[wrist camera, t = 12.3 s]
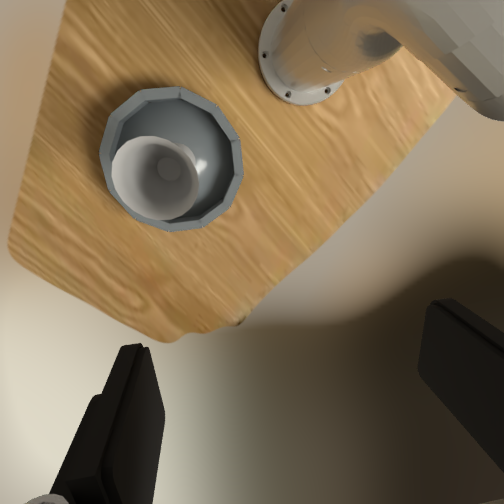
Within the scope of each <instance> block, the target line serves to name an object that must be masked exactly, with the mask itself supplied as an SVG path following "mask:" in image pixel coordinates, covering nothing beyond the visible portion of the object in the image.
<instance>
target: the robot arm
mask: <svg viewBox="0 0 504 504" xmlns="http://www.w3.org/2000/svg"><path fill="white" fill-rule="evenodd" d="M282 8H283V9H284V12H282V11H281V9H282ZM402 46H404V47H405V48H406V49H407V50H408V51H409V52H410V53H412V54H413V55H414V56H415V57H416V58H417V59H418V60H420V61H422V62H423V63H424V64H425V65H426V66H427V67H428V68H429V69H430V70H431V71H432V72H433V73H435V74H436V75H437V76H438V77H439V78H440V79H441V80H442V81H443V82H444V83H445V84H446V85H447V86H448V87H449V88H450V89H451V90H452V91H453V92H455V93H456V94H457V95H458V96H459V97H460V98H461V99H462V100H463V101H464V102H466V103H467V104H468V105H469V106H470V107H471V108H473V109H474V110H475V111H477V112H478V113H479V114H481V115H483V116H485V117H487V118H490V119H492V120H497V121H504V0H282V1H281V2H280V3H278V4H277V5H276V7H275V8H274V9H273V10H272V11H271V13H270V14H269V16H268V17H267V19H266V21H265V23H264V25H263V27H262V31H261V34H260V37H259V44H258V61H259V66H260V70H261V73H262V76H263V78H264V80H265V82H266V84H267V85H268V87H269V88H270V90H271V91H272V92H273V93H274V94H275V95H276V96H277V97H279V98H280V99H281V100H283V101H285V102H287V103H289V104H293V105H298V106H307V105H313V104H316V103H319V102H321V101H323V100H325V99H327V98H329V97H330V96H331V95H332V94H333V93H335V92H336V90H337V89H338V88H339V87H340V86H341V85H342V83H343V81H344V80H345V79H346V78H349V77H351V76H354V75H356V74H359V73H361V72H363V71H366V70H368V69H370V68H373V67H375V66H377V65H379V64H381V63H383V62H385V61H386V60H388V59H389V58H391V57H392V56H393V55H394V54H395V53H396V52H397V51H399V50H400V48H401V47H402ZM263 54H265V55H266V58H263V56H262V55H263ZM325 90H327V93H325ZM286 93H287V94H288V97H286V96H285V94H286ZM418 372H419V375H420V377H421V378H422V379H423V380H424V382H425V383H426V384H427V385H428V386H429V387H430V389H431V390H432V391H433V392H434V393H435V394H436V395H437V397H438V398H439V399H440V400H441V401H442V402H443V403H444V405H445V406H446V407H447V408H448V409H449V410H450V411H451V413H452V414H453V415H454V416H455V417H456V418H457V420H458V421H459V422H460V423H461V424H462V425H463V426H464V428H465V429H466V430H467V431H468V432H469V433H470V435H471V436H472V437H473V438H474V439H475V440H476V441H477V443H478V444H479V445H480V446H481V447H482V448H483V449H484V450H485V452H486V453H487V454H488V455H489V456H490V458H491V459H492V460H493V461H494V462H495V463H496V464H497V466H498V467H499V468H500V469H501V470H502V471H503V472H504V333H503V332H501V331H500V330H499V329H497V328H496V327H494V326H493V325H491V324H490V323H488V322H487V321H485V320H484V319H482V318H481V317H479V316H478V315H476V314H475V313H473V312H472V311H471V310H469V309H468V308H466V307H465V306H463V305H462V304H460V303H459V302H457V301H456V300H454V299H452V298H447V299H440V300H434V301H432V302H431V303H430V305H429V306H428V307H427V309H426V316H425V322H424V329H423V335H422V342H421V349H420V355H419V362H418ZM164 424H165V410H164V406H163V402H162V398H161V394H160V390H159V386H158V382H157V378H156V374H155V370H154V366H153V362H152V358H151V354H150V350H149V348H148V347H143V345H142V344H141V343H138V344H131V345H124V346H122V347H121V348H120V350H119V353H118V355H117V357H116V360H115V362H114V365H113V367H112V369H111V372H110V375H109V377H108V379H107V382H106V384H105V386H104V389H103V391H102V394H98V395H95V396H94V397H93V398H92V399H91V401H90V403H89V405H88V407H87V409H86V412H85V414H84V416H83V418H82V421H81V423H80V425H79V427H78V430H77V432H76V434H75V436H74V439H73V441H72V443H71V445H70V448H69V450H68V452H67V455H66V457H65V459H64V461H63V464H62V466H61V468H60V470H59V473H58V475H57V477H56V479H55V482H54V484H53V486H52V488H51V491H50V493H49V494H48V495H42V496H39V497H37V498H34V499H32V500H30V501H28V502H27V503H25V504H152V502H153V497H154V490H155V483H156V477H157V470H158V464H159V457H160V450H161V444H162V437H163V431H164ZM482 504H504V499H501V500H496V501H491V502H487V503H482Z"/></svg>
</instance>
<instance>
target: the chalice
mask: <svg viewBox="0 0 504 504" xmlns="http://www.w3.org/2000/svg"><path fill="white" fill-rule="evenodd" d="M195 166H196V161H195V157H194V154H193V152H192V151H191V150H190V149H189V148H188V147H187V146H185V145H184V144H180V143H172V142H171V141H169V140H166V139H163V138H159V137H156V136H140V137H137V138H134V139H132V140H129V141H127V142H126V143H125V144H124V145H123V146H122V147H121V148H120V149H119V150H118V151H117V153H116V155H115V157H114V160H113V162H112V180H113V183H114V187H115V190H116V191H117V193H118V194H119V196H120V198H121V199H122V201H123V202H124V203H125V204H126V205H127V206H128V207H130V208H131V209H132V210H133V211H134V212H136V213H138V214H140V215H142V216H144V217H146V218H151V219H155V220H171V219H174V218H176V217H179V216H182V215H183V214H184V213H185V212H187V211H188V210H189V209H190V208H191V207H192V205H193V204H194V202H195V200H196V198H197V195H198V188H199V181H198V175H197V170H196V168H195Z"/></svg>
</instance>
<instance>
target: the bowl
mask: <svg viewBox="0 0 504 504" xmlns="http://www.w3.org/2000/svg"><path fill="white" fill-rule="evenodd" d="M216 105H217V104H215V103H213V102H211V101H209V100H207V99H205V98H203V97H201V96H199V95H197V94H195V93H193V92H191V91H189V90H187V89H185V88H183V87H181V88H180V86H176V87H165V88H153V89H142V90H141V91H138V92H136V93H135V94H134V95H133V96H132V97H130V98H129V99H128V100H127V101H125V102H124V103H123V104H122V105H121V106H119V107H118V108H117V109H116V110H115V111H113V112H112V113H111V114H110V115H111V116H109V118H108V121H107V125H106V128H105V132H104V135H103V139H102V142H101V146H100V149H99V152H100V154H99V157H100V161H101V165H102V168H103V172H104V176H105V180H106V183H107V187H108V190H111V191H110V193H111V194H112V195H113V196H114V198H115V199H116V200H117V201H118V202H119V203H120V204H121V205H122V206H123V207H124V208H125V209H126V211H127V212H128V213H129V214H130V215H131V216H132V217H133V218H134V219H135V218H136V220H138V221H140V222H143V223H146V224H148V225H151V226H154V227H156V228H159V229H162V230H164V231H167V232H168V231H170V232H174V231H182V230H190V229H198V228H202V226H203V227H205V226H206V225H207V224H209V223H210V222H211V221H213V220H214V219H216V218H217V217H218V216H220V215H221V214H222V213H224V212H225V211H226V210H228V209H229V207H231V204H232V202H233V200H234V197H235V195H236V193H237V190H238V188H239V186H240V184H241V181H242V179H243V177H244V176H243V175H244V172H243V162H242V152H241V143H240V139H238V138H240V137H239V136H238V135H237V133H236V132H235V130H234V129H233V127H232V126H231V124H230V123H229V121H228V120H227V118H226V117H225V115H224V114H223V112H222V111H221V109H220V108H219V106H217V107H216ZM210 114H211V115H210ZM140 136H156V137H159V138H163V139H166V140H169V141H171V142H172V143H180V144H184V145H185V146H187V147H188V148H189V149H190V150H191V151H192V152H193V154H194V157H195V161H196V166H195V168H196V170H197V175H198V181H199V188H198V195H197V198H196V200H195V202H194V204H193V205H192V207H191V208H190V209H189V210H188V211H187V212H185V213H184V214H183V215H182V216H179V217H176V218H174V219H171V220H155V219H151V218H146V217H144V216H142V215H140V214H138V213H136V212H134V211H133V210H132V209H131V208H130V207H128V206H127V205H126V204H125V203H124V202H123V201H122V199H121V198H120V196H119V194H118V193H117V191H116V190H115V187H114V183H113V180H112V162H113V160H114V157H115V155H116V153H117V151H118V150H119V149H120V148H121V147H122V146H123V145H124V144H125V143H126V142H127V141H129V140H132V139H134V138H137V137H140ZM229 141H230V142H229Z"/></svg>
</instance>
